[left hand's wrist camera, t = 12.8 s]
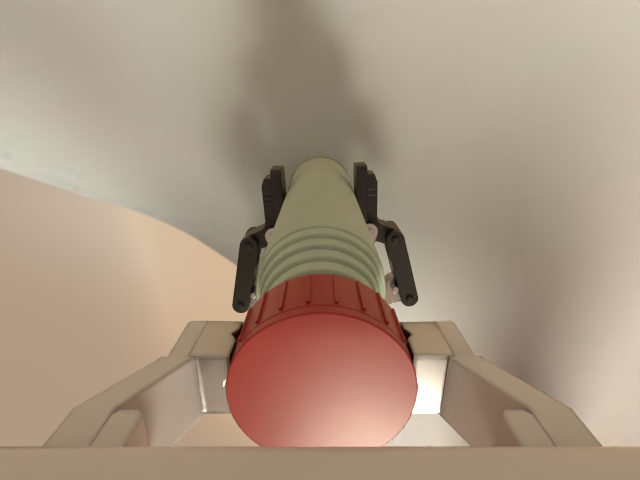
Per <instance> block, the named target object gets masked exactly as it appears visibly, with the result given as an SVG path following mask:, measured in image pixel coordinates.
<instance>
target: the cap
mask: <svg viewBox="0 0 640 480" xmlns="http://www.w3.org/2000/svg"><path fill="white" fill-rule="evenodd" d="M417 392H418V383H417V376H416V371H415V368H414V365H413V362H412V359H411V356H410V353H409V351H408V348H407V339H406V337H405V336H404V334H403V332H402V329H401V326H400V324H399V321H398V318H397V315H396V313H395V310H394V308H393V309H391V307H390V306H389V305H388V303H387V302H386V301H385V300H384V299H383V298H382V297H381V295H380V293H379V292H375V291H374V290H372V289H371V288H370V287H368V286H366V285H364V284H362V283H360V281H358V280H357V281H356V280H353V279H350V278H347V277H343V276H339V275H336V274H333V275H331V274H312V275H311V274H308V275H305V276H300V277H296V278H293V279H290V280H285V281H284V282H283V283H281V284H279V285H277V286H275V287H273V288H272V289H271V290H269V291H268V292H264V293H263V296H262V297H261V298H260V299H259V300H258V301H257V302H256V303H255V305H254V306H253V307H252V308H249V310H248V313H247V316H246V319H245V322H244V324H243V327H242V330H241V333H240V335H239V336H237V339H236V348H235V350H234V353H233V356H232V358H231V363H230V366H229V369H228V373H227V378H226V397H227V402H228V406H229V409H230V411H231V414H232V416H233V418H234V419H235V421H236V423H237V424H238V426H239V427H240V428H241V429H242V431H243V432H244V433H245V434H246V435H247V436H248V437H249V438H250V439H251V440H253V441H254V442H255V443H257V444H258V445H259V446H261V447H382V446H384V445H385V444H387V443H388V442H389V441H390V440H392V439H393V438H394V437H395V436H396V435H397V434H398V433H399V432H400V431H401V430H402V429H403V427H404V426H405V424H406V423H407V422H408V420H409V418H410V416H411V414H412V412H413V410H414V407H415V403H416V399H417Z"/></svg>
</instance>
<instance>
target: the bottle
mask: <svg viewBox="0 0 640 480" xmlns="http://www.w3.org/2000/svg"><path fill="white" fill-rule="evenodd" d="M308 274H311V275H312V274H331V275H333V274H336V275H339V276H343V277H347V278H350V279H353V280H356V281H357V280H358V281H360V283H362V284H364V285H366V286H368V287H370V288H371V289H372V290H374V291H375V292H379V293H380V295H381V297H382V298H383V299H384V300H385V295H386V284H385V275H384V270H383V266H382V264H381V261H380V258H379V256H378V253H377V251H376V248H375V246H374V243H373V240H372V238H371V235H370V233H369V230H368V228H367V225H366V223H365V220H364V217H363V215H362V212H361V210H360V207H359V205H358V202H357V199H356V197H355V194H354V192H353V189H352V187H351V184H350V182H349V179H348V176H347V174H346V172H345V170H344V169H343V168H342V166H341V165H340V164H338V163H337V162H335V161H334V160H332V159H329V158H324V157H317V158H312V159H309V160H307V161H305V162H304V163H303V164H301V165H300V166H299V167H298V169H297V170H296V172H295V174H294V176H293V179H292V181H291V184H290V187H289V189H288V192H287V195H286V197H285V200H284V203H283V205H282V208H281V211H280V213H279V216H278V219H277V221H276V224H275V227H274V229H273V232H272V235H271V237H270V240H269V242H268V245H267V248H266V250H265V253H264V256H263V258H262V261H261V264H260V267H259V271H258V277H257V287H256V292H257V300H259V299H260V298H261V297H262V296H263V293H264V292H268V291H269V290H271V289H272V288H273V287H275V286H277V285H279V284H281V283H283V282H284V281H285V280H290V279H293V278H296V277H300V276H305V275H308Z"/></svg>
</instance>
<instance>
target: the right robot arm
mask: <svg viewBox="0 0 640 480" xmlns="http://www.w3.org/2000/svg"><path fill="white" fill-rule="evenodd" d="M262 194H263V203H264V212H265V224H263V225H261V226H259V227H251V228H249V229H248V231H247V232H246V235H245V237H244V238H243V239H242V241H241V243H240V249H239V257H238V265H237V273H236V281H235V288H234V296H233V304H232V306H233V309H234V310H235V311H236V312H239V313H244V312H246V311H247V310H248V309H249V307H251V308H252V307H253V306H254V305H255V303H256V302H257V301H258V300H257V292H256V287H257V271H258V265H259V258H260V251H261V248H264V247H266V246H267V245H268V242H269V240H270V237H271V235H272V232H273V229H274V227H275V224H276V221H277V219H278V216H279V213H280V211H281V208H282V205H283V203H284V200H285V197H286V184H285V172H284V166H273V167H272V169H271V171H270V175H267V176H266V177H265V178H264V181H263V184H262ZM354 194H355V197H356V199H357V202H358V205H359V207H360V210H361V212H362V215H363V217H364V220H365V223H366V225H367V228H368V230H369V233H370V235H371V238H372V240H373V243H374V242H375V241H378V242H382V243H384V244H385V248H386V252H387V256H388V260H389V264H390V268H391V272H390V273H388V274H386V275H385V284H386V295H385V301H386V302H387V303H388V304H391V303H395V302H399V301H402V303H403V304H404V305H406V306H412V305H414V304H416V303H417V301H418V295H417V291H416V287H415V282H414V278H413V274H412V269H411V265H410V261H409V256H408V252H407V248H406V243H405V239H404V236H403V234H402V233H401V231H400V230H399V228H398V227H397V225H396V224H395V223H394V222H393V221H384V220H381V219H379V218H377V180H376V177H375V175H374V173H373V172H372V171H371V170H370V171H367V165H366V164H365V163H364V162H355V163H354Z"/></svg>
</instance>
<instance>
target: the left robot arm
mask: <svg viewBox="0 0 640 480" xmlns="http://www.w3.org/2000/svg"><path fill="white" fill-rule="evenodd" d="M243 324H244V323H243V322H229V321H209V322H208V321H191V322H189V323H188V324H187V326H186V328H185V329H184V331H183V333H182V334H181V336H180V337H179V339H178V341H177V342H176V344H175V346H174V347H173V349H172V350H171V352H170V354H169V355H168V356H167V357H161V358H159V359H157V360H156V361H154V362H152V363H150V364H149V365H147V366H145V367H144V368H142V369H140V370H138V371H137V372H135V373H133V374H132V375H130V376H128V377H126V378H125V379H123V380H121V381H119V382H118V383H116V384H114V385H113V386H111V387H109V388H108V389H106V390H104V391H102V392H101V393H99V394H97V395H95V396H94V397H92V398H90V399H89V400H87V401H85V402H83V403H82V404H80V405H78V406H77V407H75V408H73V410H72V411H71V412H70V413H69V414H68V416H67V417H66V418H65V419H64V420H63V422H62V423H61V424H60V425H59V427H58V428H57V429H56V430H55V432H54V433H53V434H52V435H51V436H50V438H49V439H48V440H47V441H46V442H45V444H44V445H43V446H42V447H0V480H640V447H603V446H602V445H601V444H600V443H599V441H598V440H597V439H596V438H595V437H594V435H593V434H592V433H591V432H590V431H589V429H588V428H587V427H586V426H585V425H584V423H583V422H582V421H581V420H580V419H579V417H578V416H577V415H576V414H575V412H574V411H573V410H572V409H571V408H569V407H567V406H566V405H564V404H562V403H561V402H559V401H557V400H555V399H554V398H552V397H550V396H548V395H547V394H545V393H543V392H542V391H540V390H538V389H536V388H535V387H533V386H531V385H529V384H528V383H526V382H524V381H523V380H521V379H519V378H517V377H516V376H514V375H512V374H510V373H509V372H507V371H505V370H503V369H502V368H500V367H498V366H497V365H495V364H493V363H491V362H490V361H488V360H486V359H484V358H483V357H476V356H475V355H474V353H473V352H472V350H471V348H470V347H469V345H468V344H467V342H466V341H465V339H464V337H463V336H462V334H461V333H460V331H459V329H458V328H457V326H456V325H455V323H454V322H452V321H434V322H399V324H400V326H401V329H402V332H403V334H404V336H405V337H406V339H407V348H408V351H409V353H410V356H411V359H412V362H413V365H414V368H415V371H416V376H417V383H418V392H417V399H416V403H415V407H414V410H413V412H412V413H424V414H440V416H441V417H442V418H443V419H444V420H445V421H446V422H447V423H448V424H449V425H450V426H451V427H452V428H453V429H454V430H455V431H456V432H457V433H458V434H459V435H460V436H461V437H462V438H463V439H464V440H465V441H466V442H467V443H468V444H469V445H470V446H471V447H172V446H173V445H174V444H175V443H176V442H177V441H178V440H179V439H180V438H181V437H182V436H183V435H184V434H185V433H186V432H187V431H188V430H189V429H190V428H191V427H192V426H193V425H194V424H195V423H196V422H197V421H198V420H199V419H200V418H201V417H202V416H203V414H218V413H231V411H230V409H229V406H228V402H227V397H226V378H227V373H228V369H229V366H230V363H231V358H232V356H233V353H234V350H235V348H236V339H237V336H239V335H240V333H241V330H242V327H243Z"/></svg>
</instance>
